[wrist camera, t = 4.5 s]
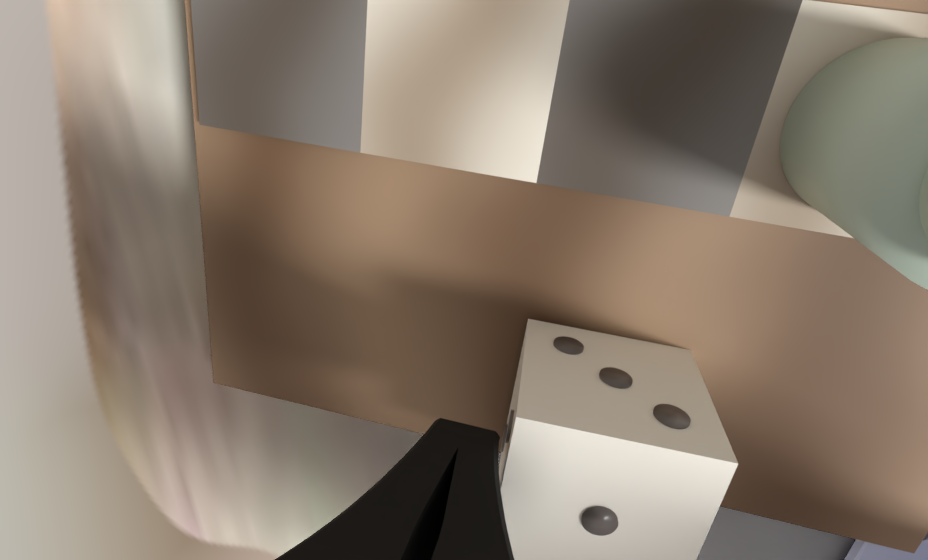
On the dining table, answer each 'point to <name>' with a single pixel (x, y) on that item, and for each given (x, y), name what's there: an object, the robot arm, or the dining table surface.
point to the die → (610, 450)
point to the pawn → (867, 149)
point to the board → (557, 224)
